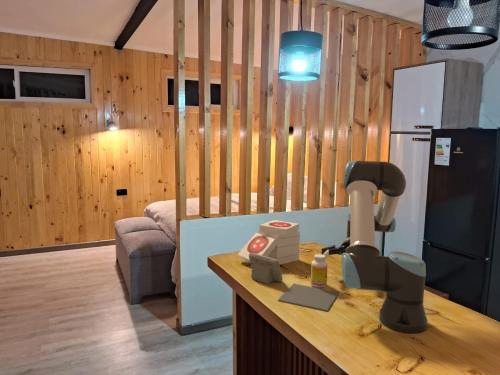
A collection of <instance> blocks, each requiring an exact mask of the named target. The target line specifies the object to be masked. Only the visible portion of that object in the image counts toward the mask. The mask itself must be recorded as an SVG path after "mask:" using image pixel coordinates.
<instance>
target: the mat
mask: <svg viewBox="0 0 500 375" xmlns="http://www.w3.org/2000/svg"><path fill="white" fill-rule="evenodd" d="M339 294H340V292H339V291H335V290H328V289H325V288H317V287H314V286H308V285H302V284H297V283H293V284H292V285H291V286H290V287H288V289H286V290H285V292H284V293H283V294H281V296H280V297H279V298H278V299H277V301H278V302H283V303H286V304H291V305H296V306H301V307H305V308H311V309H315V310H319V311H324V312H328V311H329V309H330V308H331V306H333V303H334V302H335V300H336V299H337V297H338V295H339Z"/></svg>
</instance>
